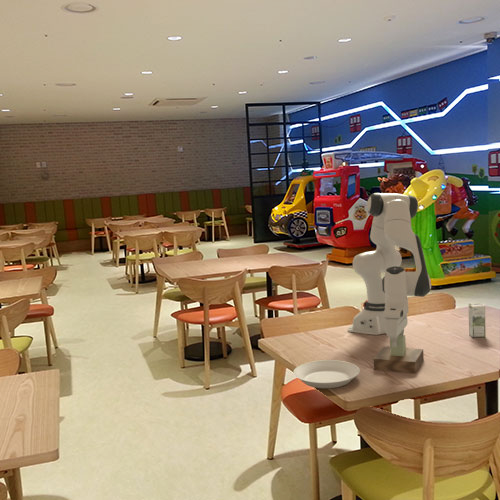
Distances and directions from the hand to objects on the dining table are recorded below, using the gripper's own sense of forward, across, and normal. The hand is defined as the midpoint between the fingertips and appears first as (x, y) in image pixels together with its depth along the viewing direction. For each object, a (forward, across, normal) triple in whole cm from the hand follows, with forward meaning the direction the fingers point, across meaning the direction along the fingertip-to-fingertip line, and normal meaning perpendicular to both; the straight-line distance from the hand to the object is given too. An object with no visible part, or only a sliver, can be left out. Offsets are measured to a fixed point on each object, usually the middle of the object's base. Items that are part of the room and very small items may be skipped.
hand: (398, 342), depth 228 cm
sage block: (+5, 0, 0) cm, 5 cm away
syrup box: (+9, -47, +24) cm, 54 cm away
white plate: (+10, +23, -22) cm, 33 cm away
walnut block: (+10, 0, 0) cm, 10 cm away
